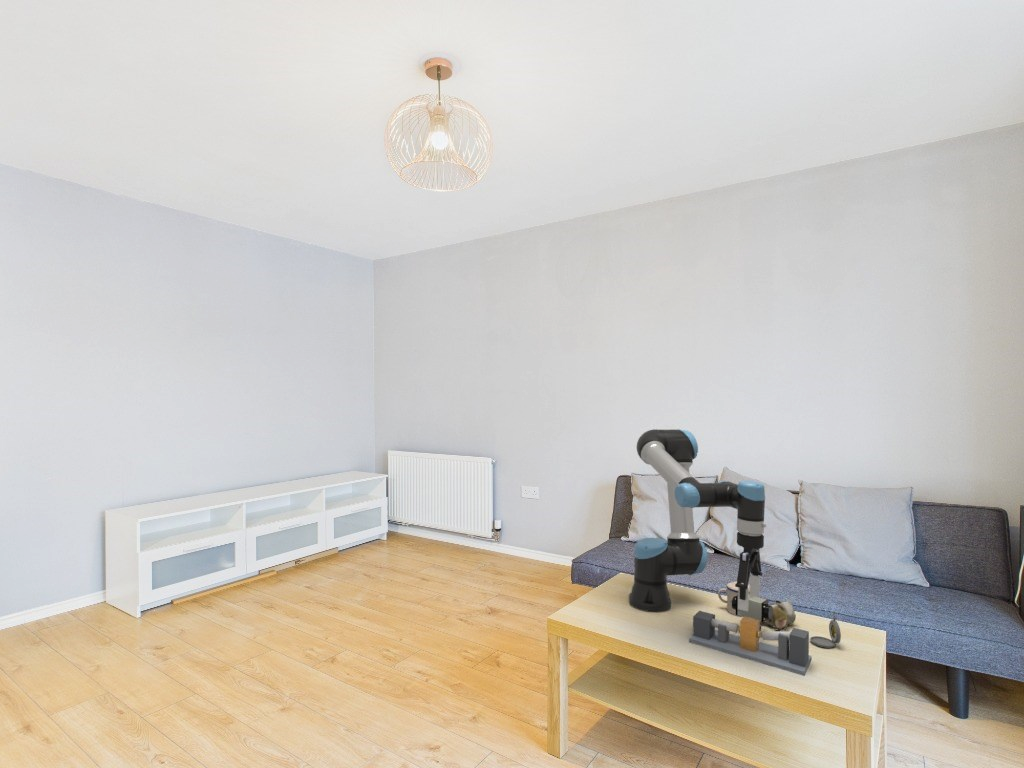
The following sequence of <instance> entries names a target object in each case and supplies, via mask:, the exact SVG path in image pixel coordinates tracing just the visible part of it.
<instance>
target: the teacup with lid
mask: <svg viewBox="0 0 1024 768" xmlns="http://www.w3.org/2000/svg"><path fill="white" fill-rule="evenodd" d="M735 584H737V580H736V581H731V582H729V583H727V584H726V588H720V589H718V591H717V596H718V599H719V600H720V601H721V602H722V603H724V604H726V610H727V611H728V612H729V614H731V615H734V616H737V617H739V616H738V615H736V612H735V610H734V609H733V608H732V599H733V597H734V596H737V595H738V587H735ZM741 584H743V583H741ZM748 588H749V592H750V584H748ZM721 592H726V593H727V594H726V600H725V599H724V598H722V596H721Z"/></svg>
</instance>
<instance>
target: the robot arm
mask: <svg viewBox="0 0 1024 768" xmlns="http://www.w3.org/2000/svg"><path fill="white" fill-rule="evenodd" d="M636 452H637V455H638V457H639V459H640V460H642V461H643V463H645V464H646V465H649V466H651V467H652V468H653V469H654V470H655V472H657V474H658V475H659V476H660V477H662V479H664V481H665V482H666V484H667V485H666V486H667V500H668V511H669V525H670V527H669V528H670V533H669V534H668V535H667V537H666V539H664V538H662V537H656V538H655V537H646V538H642V539H640V540H638V541H636V543H635V545H634V554H633V556H634V558H633V560H634V563H633V564H634V569H633V570H634V571H633V576H634V577H633V584H632V587H631V592H630V593H629V595H628V603H629V604H630V606H631V607H633V608H635V609H637V610H641V611H644V612H648V613H649V612H652V613H661V612H667V611H669V610H671V609H672V599H671V595H670V592H669V588H668V585H667V583H668V582H667V579H668V578H667V577H668V576H684V575H688V576H692V575H696V574H697V575H698V574H701V573H703V571H704V570H705V569H706V567H707V564H708V550H707V547H706V545H705V543H703V542H702V541H700V536H699V535H698V534H696V531H695V525H694V523H695V521H694V512H693V508H722V507H723V508H726V507H727V508H728V507H729V508H732V509H736V510H737V511H736V512H737V514H736V516H737V518H736V519H737V520H736V530H737V531H738V532H736V544H737V545H738V546H739V547H742V548H743V550H742V551H741V552H739V563H738V571H737V577H736V581H737V584H735V587H738V609H740V610H744V611H748V600H749V596H753V597H757V598H760V580H761V579H760V578H761V577H763V574H764V573H763V572H762V571H763V570H762V564H761V563H762V562H761V556H760V555H761V554H760V549H763V548H764V546H765V539H764V538H765V535H764V532H765V528H766V527H767V524H765V508H766V507H765V503H766V495H765V494H766V493H765V491H766V490H765V485H764V484H763V483H762V482H760V481H753V480H740V481H739V482H738V483H734V482H732V481H729V480H727V481H726V480H720V481H718V482H700V481H699V480H698V479H696V478H695V477H694V476H693V475H692V474H691V473H690V468H691V467H692V465H694V463H693V460H695V459H696V458H697V457H698V453H699V445H698V441H697V439H696V437H695V435H694V434H693V433H692V432H691V431H689V430H686V429H680V428H679V429H649V430H646V431H645V432H643V433H642V434H641V435H640V436H639V438H638V439H637V442H636ZM760 576H761V577H760ZM741 583H743V584H741ZM748 585H750V592H749V588H748Z"/></svg>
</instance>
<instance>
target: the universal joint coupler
mask: <svg viewBox="0 0 1024 768" xmlns="http://www.w3.org/2000/svg"><path fill="white" fill-rule="evenodd" d="M738 634H739V636H740V648H743V649H746V650H750V651H753V652H756V651H757V649H758V648H759V642H760V639H761V637H762V631H761V632H760V631H759V620H756V619H752V618H748V617H741V620H739V625H738Z"/></svg>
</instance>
